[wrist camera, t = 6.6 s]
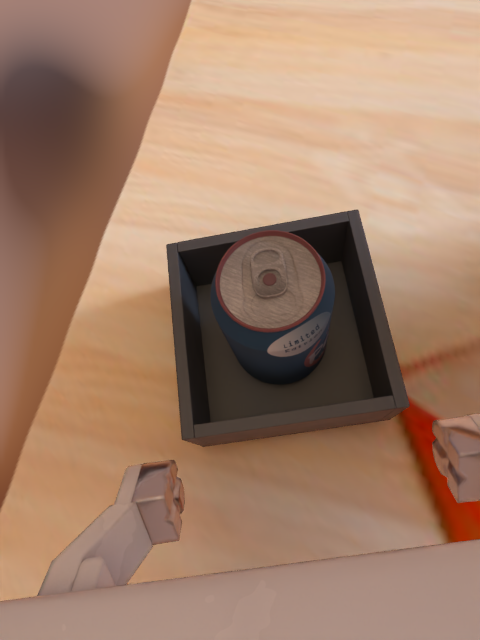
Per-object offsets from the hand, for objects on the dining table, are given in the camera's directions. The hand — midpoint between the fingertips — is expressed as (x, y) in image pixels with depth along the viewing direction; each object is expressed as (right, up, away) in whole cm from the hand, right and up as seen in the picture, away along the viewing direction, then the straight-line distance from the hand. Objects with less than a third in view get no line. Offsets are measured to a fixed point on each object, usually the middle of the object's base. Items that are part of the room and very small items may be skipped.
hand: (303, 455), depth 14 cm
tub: (+1, +2, +20) cm, 21 cm away
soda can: (+1, +2, +20) cm, 21 cm away
